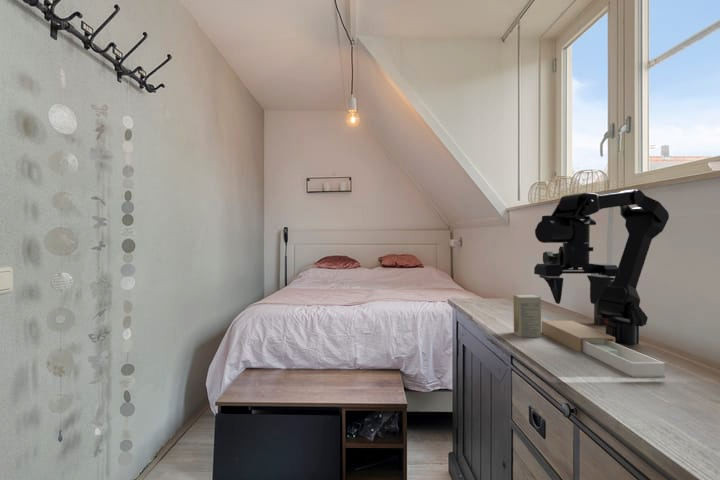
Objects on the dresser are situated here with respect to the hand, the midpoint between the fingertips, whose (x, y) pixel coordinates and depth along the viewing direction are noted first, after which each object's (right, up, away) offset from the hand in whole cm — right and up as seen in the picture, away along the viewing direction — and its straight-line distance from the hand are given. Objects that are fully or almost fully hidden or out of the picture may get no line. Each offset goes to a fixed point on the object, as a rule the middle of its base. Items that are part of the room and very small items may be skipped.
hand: (575, 303), depth 84 cm
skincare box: (-7, -12, +10) cm, 17 cm away
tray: (+3, -12, -10) cm, 15 cm away
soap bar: (+3, -11, -6) cm, 13 cm away
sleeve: (+3, -12, +4) cm, 13 cm away
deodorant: (+26, -12, +24) cm, 37 cm away
